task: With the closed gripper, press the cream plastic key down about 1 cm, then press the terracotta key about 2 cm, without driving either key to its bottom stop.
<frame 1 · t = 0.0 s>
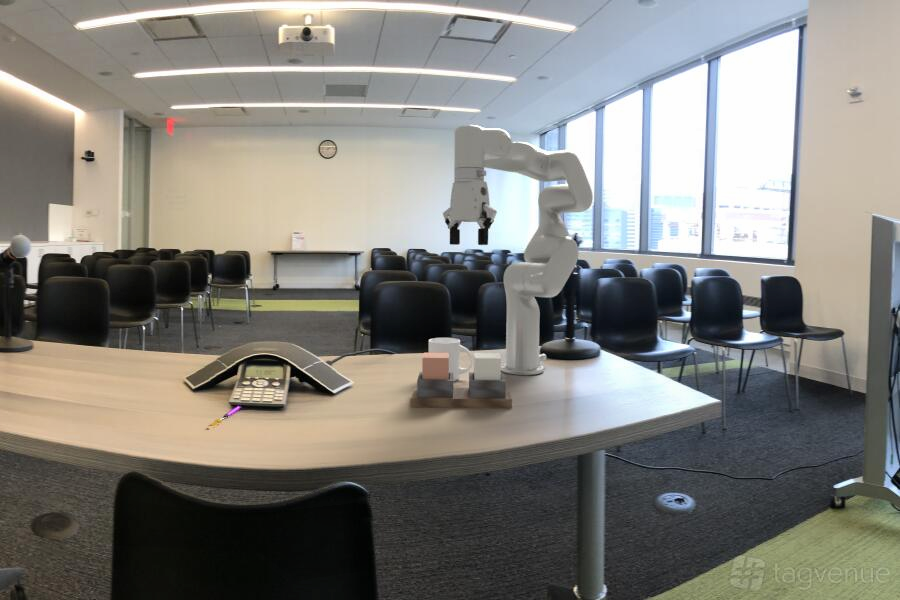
hand: (468, 244, 146), 37 cm above the table, tool pointing down, fingers open, 9 cm apart
cream key: (487, 368, 134), point 8 cm above the table, slide at 0.0 cm
terracotta key: (435, 367, 134), point 8 cm above the table, slide at 0.0 cm
key panel: (461, 401, 135), on the table
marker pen: (230, 419, 122), on the table
mug: (450, 379, 156), on the table
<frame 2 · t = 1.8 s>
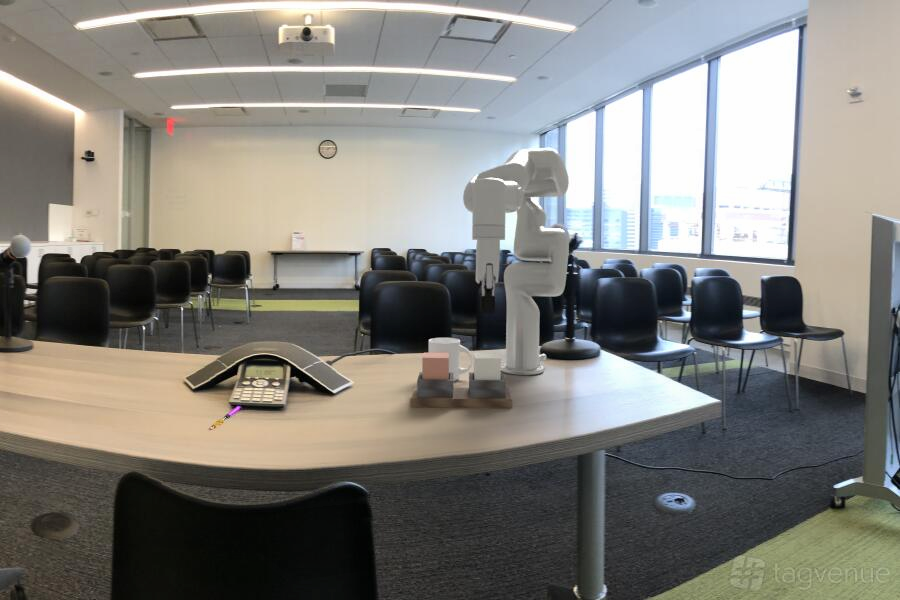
hand: (487, 312, 132), 21 cm above the table, tool pointing down, fingers closed
nothing on the table moved.
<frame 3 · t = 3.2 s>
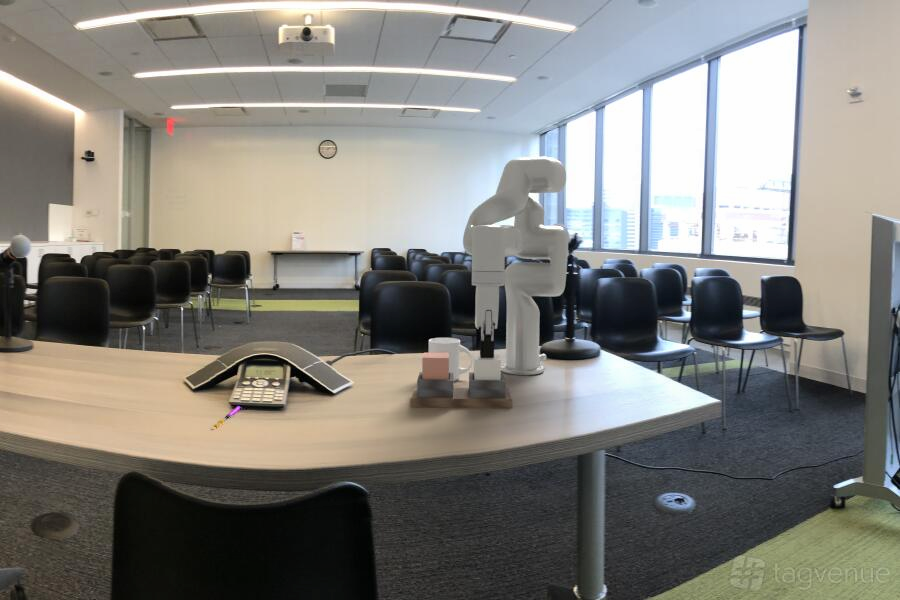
hand: (486, 357, 133), 11 cm above the table, tool pointing down, fingers closed
cream key: (487, 369, 134), point 8 cm above the table, slide at 0.4 cm, touching gripper
everything else where it was.
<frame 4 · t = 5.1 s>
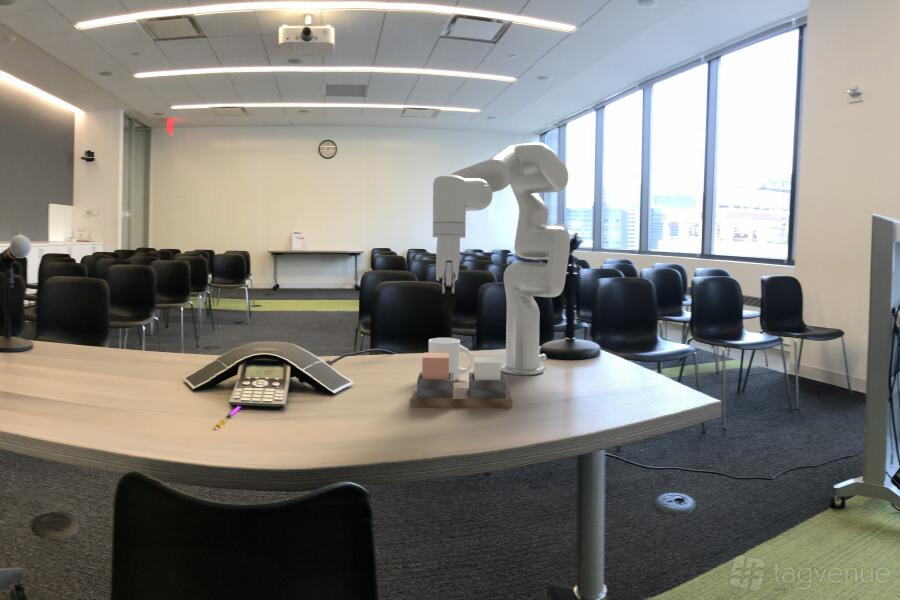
hand: (448, 310, 132), 22 cm above the table, tool pointing down, fingers closed
cream key: (487, 372, 134), point 7 cm above the table, slide at 1.0 cm
everything else where it was.
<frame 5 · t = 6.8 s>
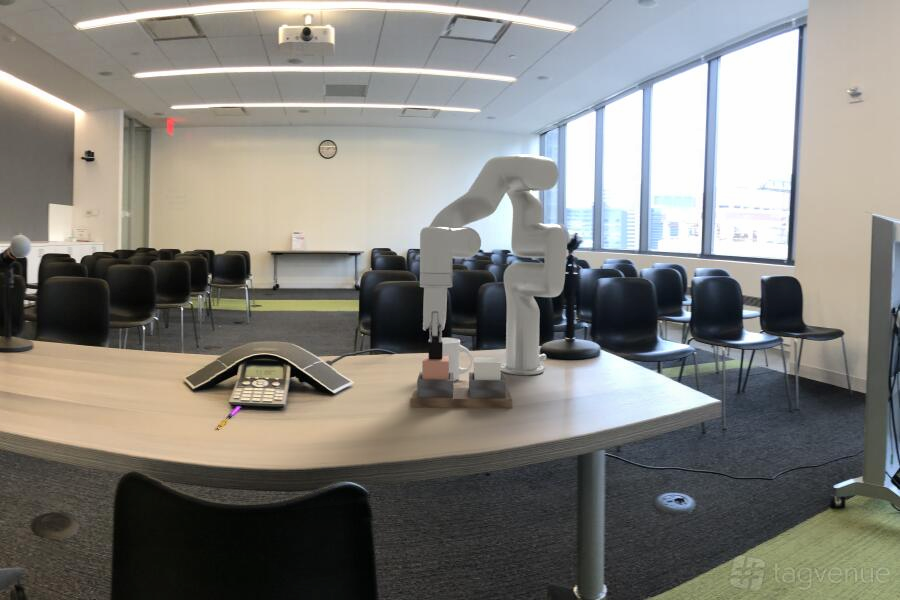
hand: (435, 358, 133), 10 cm above the table, tool pointing down, fingers closed
terracotta key: (435, 371, 134), point 7 cm above the table, slide at 0.8 cm, touching gripper
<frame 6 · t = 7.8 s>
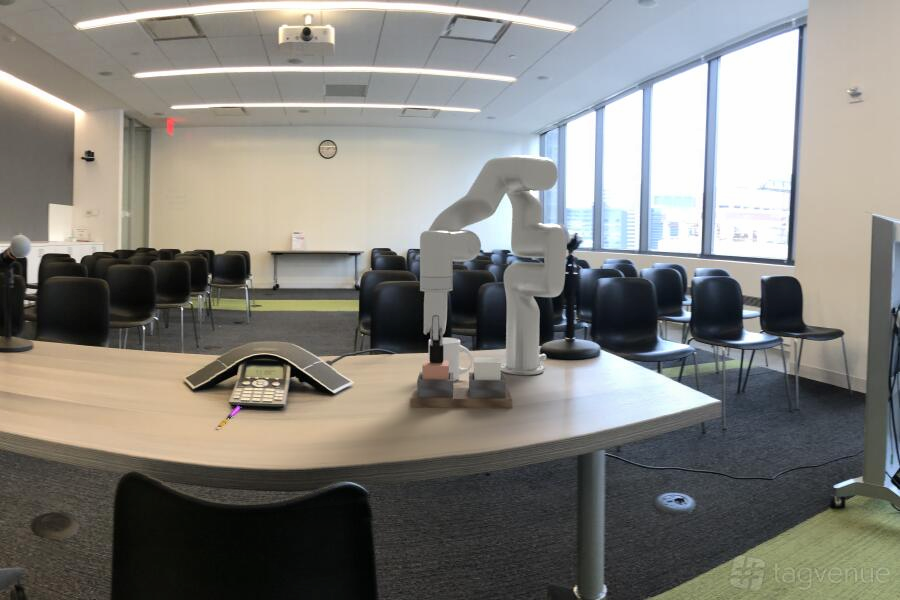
hand: (436, 361, 134), 9 cm above the table, tool pointing down, fingers closed
terracotta key: (435, 375, 134), point 6 cm above the table, slide at 1.9 cm
everything else where it was.
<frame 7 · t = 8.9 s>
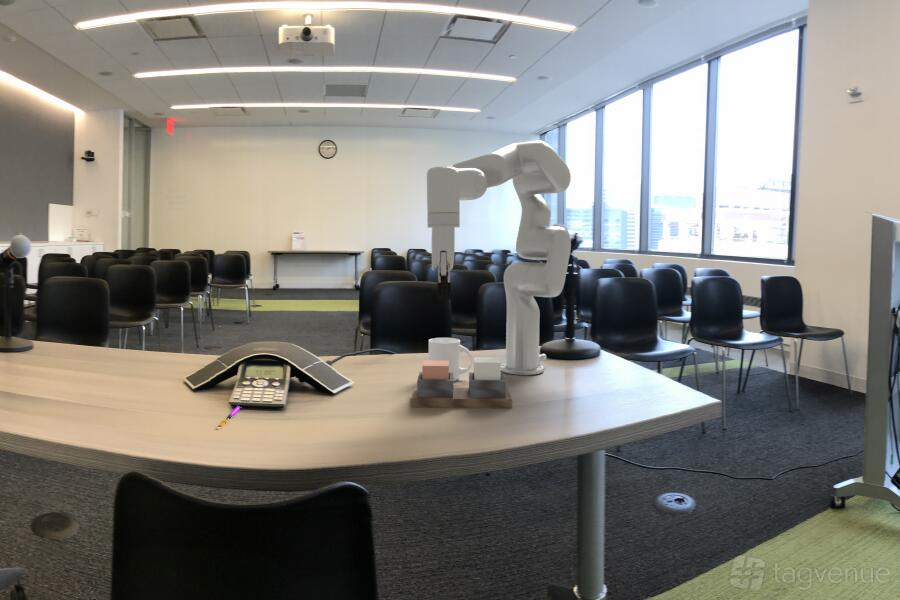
hand: (444, 299, 135), 24 cm above the table, tool pointing down, fingers closed
nothing on the table moved.
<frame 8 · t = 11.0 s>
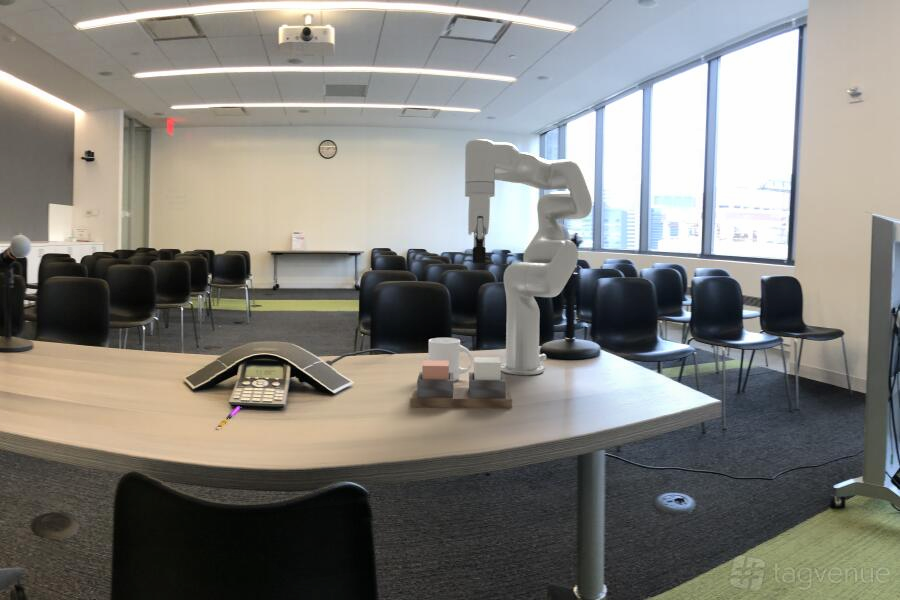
hand: (479, 262, 146), 32 cm above the table, tool pointing down, fingers closed
nothing on the table moved.
at the end: cream key slide at 1.0 cm; terracotta key slide at 1.9 cm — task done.
